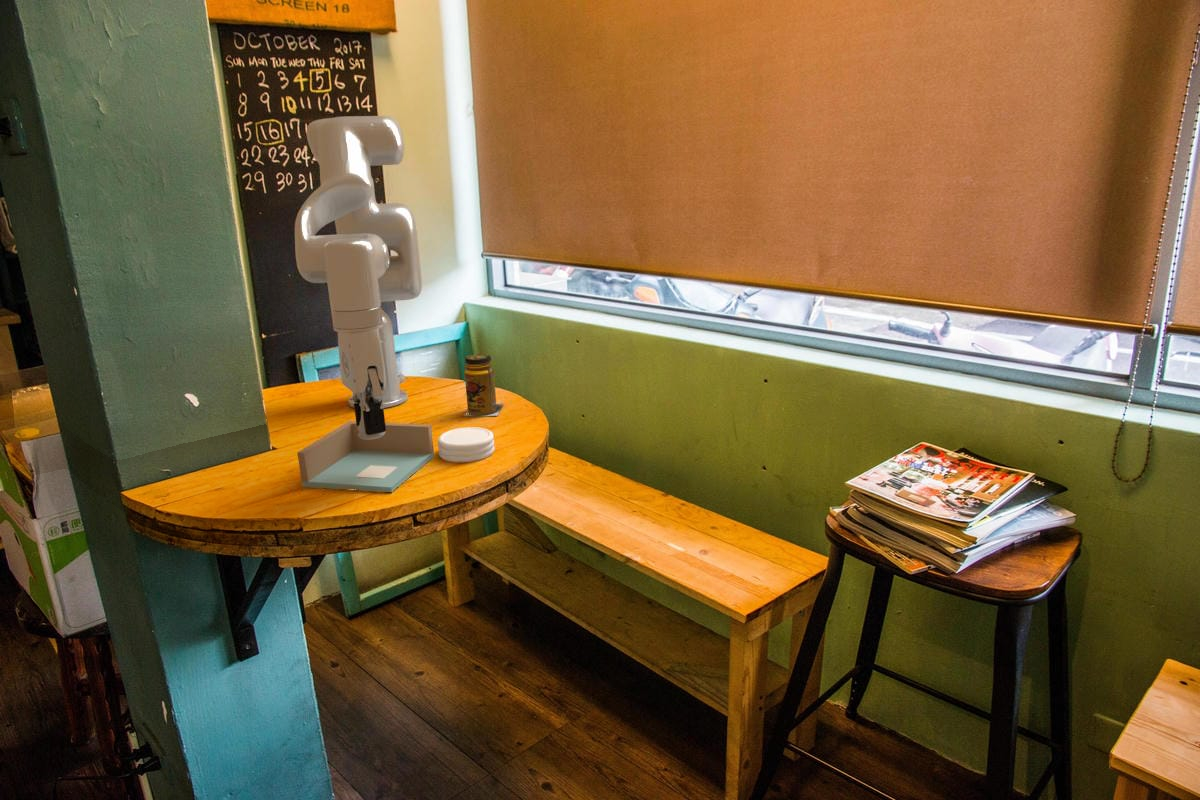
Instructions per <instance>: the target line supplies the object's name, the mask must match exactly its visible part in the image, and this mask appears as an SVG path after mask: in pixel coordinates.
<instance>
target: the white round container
mask: <svg viewBox="0 0 1200 800" xmlns="http://www.w3.org/2000/svg"><path fill="white" fill-rule="evenodd" d="M494 437H495V436H494V434H493V432H492V431H491V430H489V429H487V428H484V427H476V426H473V427H472V426H467V427H459V428H458V427H457V428H454V429H450V430H447V431H445V432H443V433H442V434H440V435H439V437H438V438H437V444H438V447H437V449H438V455H439V457H440V458H441V459H442V460H444V461H447V462H451V463H471V462H477V461H481V460H484V459H487V458H488V457H490V456H491V455H493V453H494V452H495V448H496V447H495V441H494Z"/></svg>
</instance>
